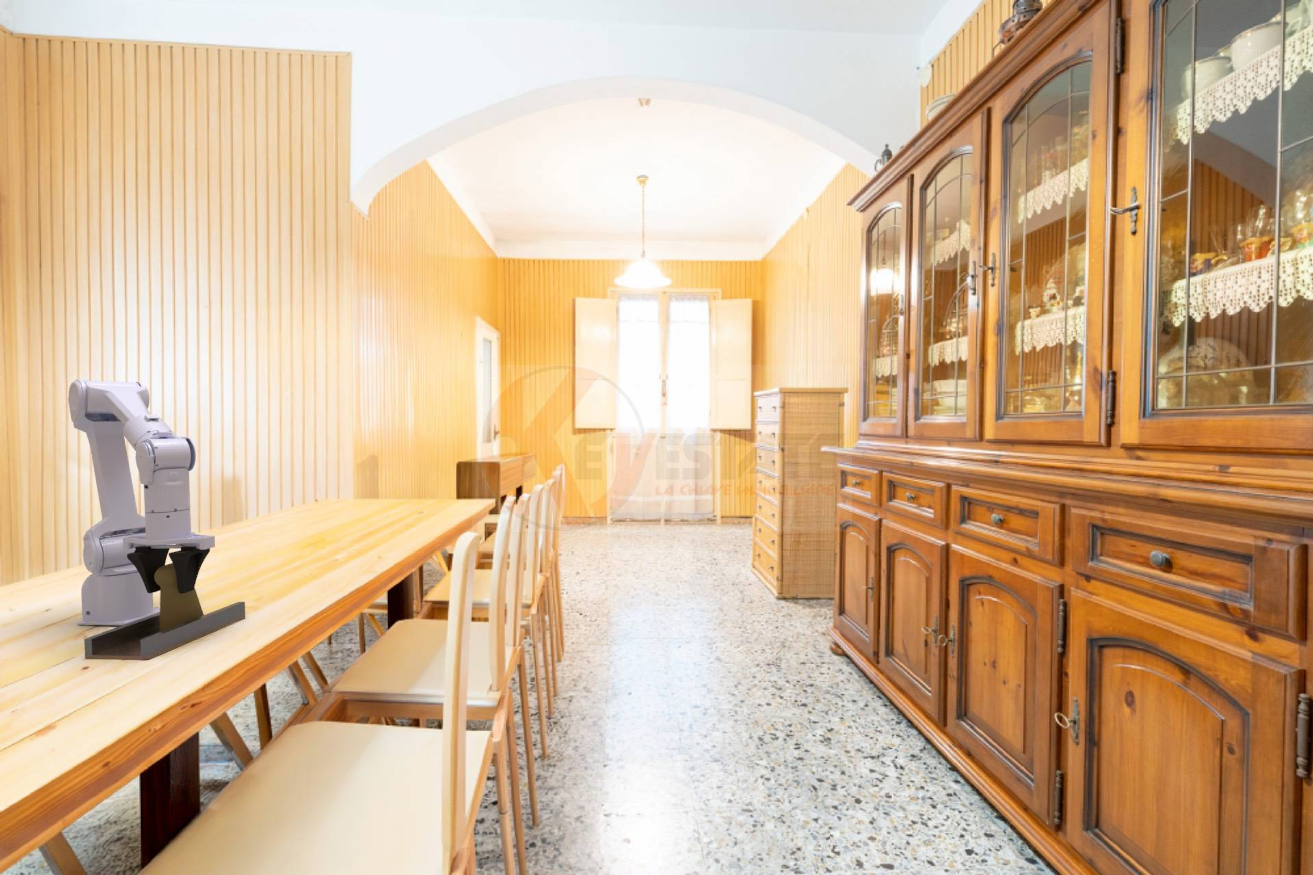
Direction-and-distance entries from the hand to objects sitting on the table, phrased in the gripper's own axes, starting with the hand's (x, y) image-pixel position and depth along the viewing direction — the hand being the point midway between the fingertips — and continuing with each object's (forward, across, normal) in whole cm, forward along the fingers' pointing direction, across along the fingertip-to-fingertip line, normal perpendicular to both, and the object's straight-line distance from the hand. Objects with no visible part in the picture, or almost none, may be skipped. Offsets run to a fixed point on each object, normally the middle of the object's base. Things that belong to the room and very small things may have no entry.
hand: (170, 591), depth 93 cm
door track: (+8, 0, 0) cm, 8 cm away
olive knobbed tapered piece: (+7, 0, -2) cm, 7 cm away
